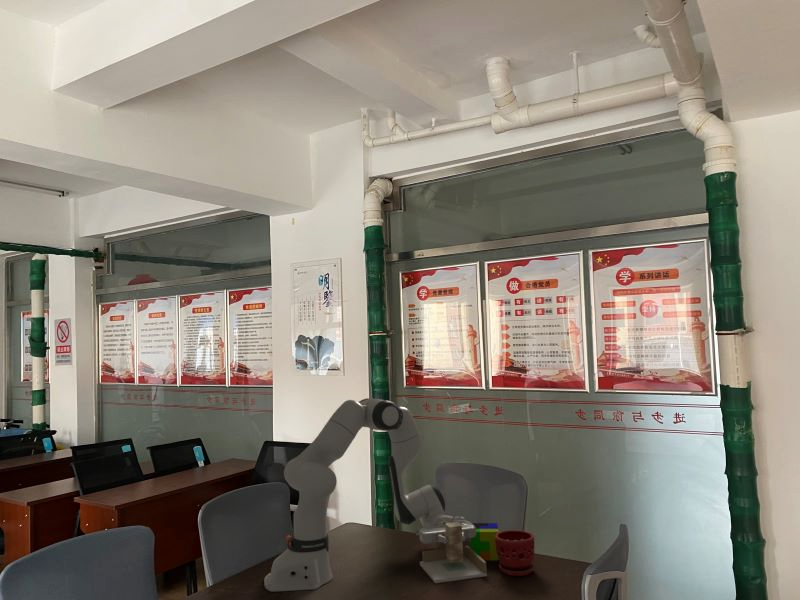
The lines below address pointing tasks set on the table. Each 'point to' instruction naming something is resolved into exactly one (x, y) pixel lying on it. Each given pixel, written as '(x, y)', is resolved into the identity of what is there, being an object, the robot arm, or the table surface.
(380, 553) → the table surface
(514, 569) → the plant pot
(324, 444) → the robot arm
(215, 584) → the table surface
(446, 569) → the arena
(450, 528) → the beech block
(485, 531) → the puzzle toy
